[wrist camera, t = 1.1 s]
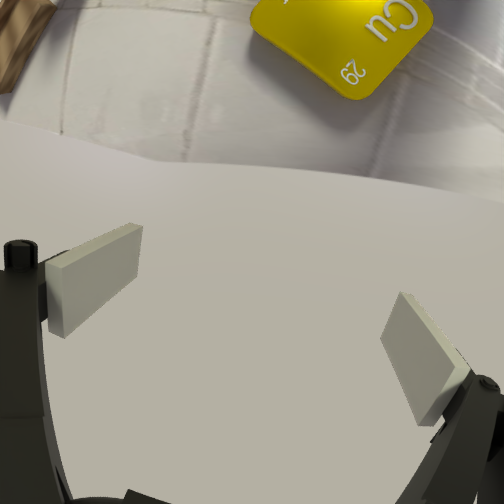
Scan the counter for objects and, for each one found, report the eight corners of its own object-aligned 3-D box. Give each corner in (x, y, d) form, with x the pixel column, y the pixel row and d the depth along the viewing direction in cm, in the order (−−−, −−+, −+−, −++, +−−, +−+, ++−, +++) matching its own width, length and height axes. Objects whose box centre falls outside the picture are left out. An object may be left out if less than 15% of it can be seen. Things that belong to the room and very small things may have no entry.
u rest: (28, -19, 28) (13, -20, 24) (57, 7, 30) (40, 5, 27) (-13, 59, 36) (-28, 61, 32) (11, 92, 38) (-5, 95, 35)
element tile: (325, -53, 23) (325, -69, 19) (429, 24, 25) (443, 16, 21) (249, 29, 30) (239, 21, 26) (353, 107, 33) (358, 109, 28)
